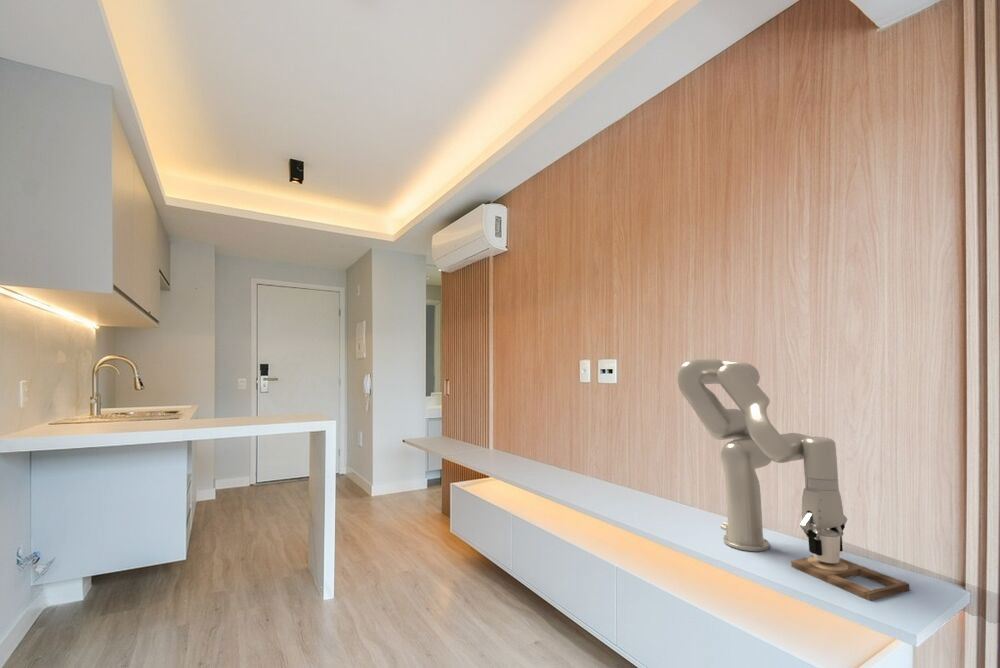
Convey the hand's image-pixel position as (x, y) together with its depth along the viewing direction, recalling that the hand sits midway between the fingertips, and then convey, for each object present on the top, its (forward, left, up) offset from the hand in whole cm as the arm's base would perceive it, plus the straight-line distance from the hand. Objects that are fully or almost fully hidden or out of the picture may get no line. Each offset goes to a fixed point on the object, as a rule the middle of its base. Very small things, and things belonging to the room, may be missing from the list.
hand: (825, 551), depth 126 cm
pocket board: (+5, 0, -5) cm, 7 cm away
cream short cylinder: (0, 0, -2) cm, 2 cm away
